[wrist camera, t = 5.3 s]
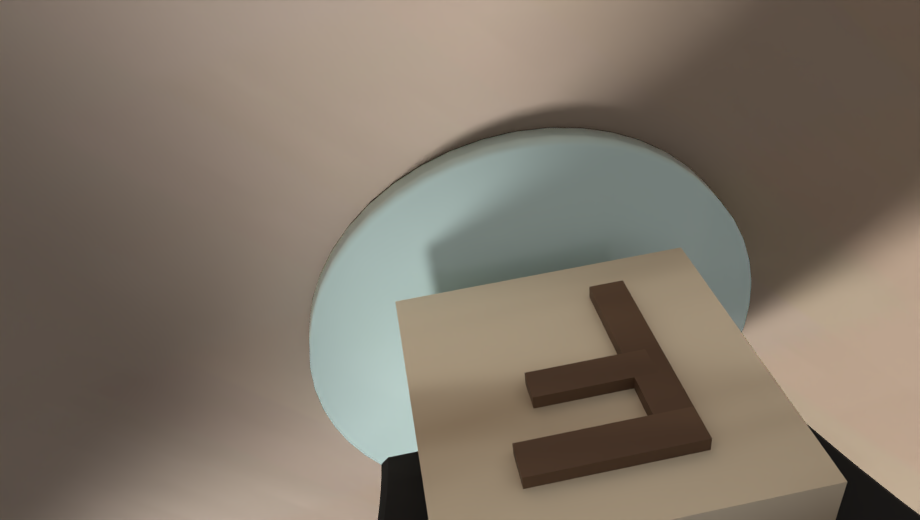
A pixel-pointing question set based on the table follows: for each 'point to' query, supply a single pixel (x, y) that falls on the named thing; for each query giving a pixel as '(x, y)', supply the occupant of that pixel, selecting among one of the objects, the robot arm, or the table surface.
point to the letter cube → (604, 403)
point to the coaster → (499, 252)
